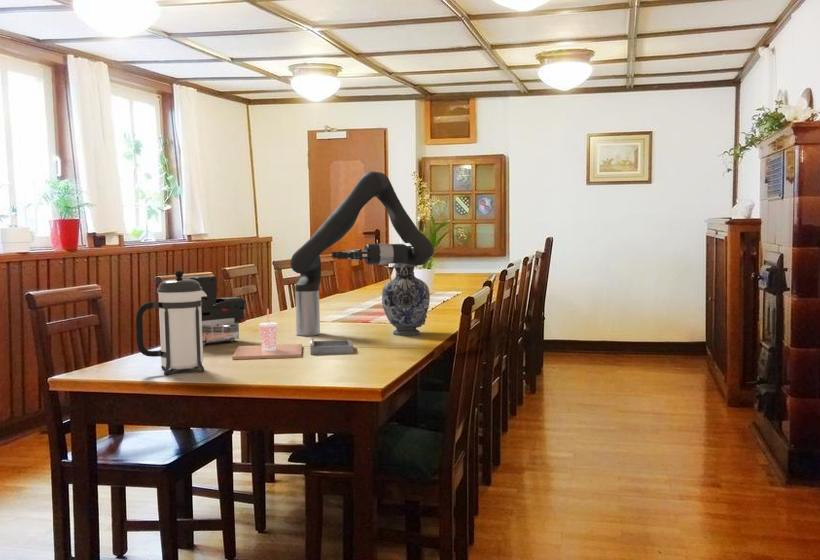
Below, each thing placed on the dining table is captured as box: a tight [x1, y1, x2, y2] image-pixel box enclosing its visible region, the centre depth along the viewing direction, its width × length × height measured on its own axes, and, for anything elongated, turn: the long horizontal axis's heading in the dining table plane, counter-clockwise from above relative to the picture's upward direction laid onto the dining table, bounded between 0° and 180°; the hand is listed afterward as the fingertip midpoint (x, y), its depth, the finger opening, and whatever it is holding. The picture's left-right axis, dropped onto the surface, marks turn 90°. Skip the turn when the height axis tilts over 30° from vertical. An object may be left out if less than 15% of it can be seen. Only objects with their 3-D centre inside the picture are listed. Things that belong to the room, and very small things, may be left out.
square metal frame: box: [309, 337, 354, 356], centre depth 265 cm, size 14×14×4 cm
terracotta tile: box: [231, 343, 303, 360], centre depth 262 cm, size 22×22×1 cm
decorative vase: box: [381, 263, 431, 337], centre depth 302 cm, size 21×19×28 cm
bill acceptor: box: [181, 275, 246, 347], centre depth 286 cm, size 10×23×25 cm, turn 129°
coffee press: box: [135, 270, 207, 376], centre depth 231 cm, size 17×16×30 cm
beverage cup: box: [258, 308, 278, 351], centre depth 262 cm, size 6×6×14 cm
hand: (334, 255), depth 274 cm, fingers open, 8 cm apart
